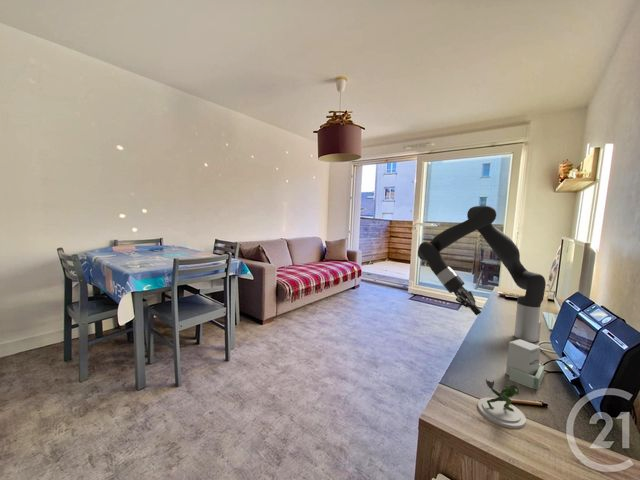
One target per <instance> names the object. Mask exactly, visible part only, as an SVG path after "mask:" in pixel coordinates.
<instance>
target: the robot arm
mask: <svg viewBox="0 0 640 480" xmlns="http://www.w3.org/2000/svg"><path fill="white" fill-rule="evenodd" d="M466 215H467V220H465V221H463V222H460V223H458V224H456V225H453V226H450V227H448V228H446V229H445V230H443V231H442V232H440V233H438V234H437V235H435V236H434V237H433V239H432V240H431V241H429V242H428V241H423V242H421V243H420V244H419V246H418V249H417V257H418V258H419V260H422V261H426V262H427V263H428V264H429V268H430V270H431V271H432V272H433V274H434V275H435V276H436V278H437V279H438V280H439V282H440V283H441V285H443V287H444V288H445V290H447V291H448V293H449V294H452V293H453V294H454V295H455V297H456V298H455V301H456V302H458V303H459V304H461V305H462V306H463V307H465V308H468V309H470V310H471V311H472V313H474V315H475V316H479V315H480V314H481V313H482V311H481V310H480V308H479V307H478V306H477V305H476V302H477V301H476V299H475V296H474V295H473V293H472V291H468V289H466V288H465V287H464V285H465V282H464V280H462V278H461V277H460V276H459V275H458V273H456V271H455V270H453V269H452V268H451V267H450V265H449V264H448V263H447V262H446V261H445V260H444V259H443V257H442V255H441V251H443V250H444V249H446V248H448V247H450V246H451V245H453V244H454V243H456V242H458V241H459V240H460V239H462V238H464V237H466V236H468V235H470V234H472V233H473V232H476V231H477V232H478V233H479V234H480V235H481V236H482V237H483V239H484V240H485V242H486V243H487V244H488V245H489V247H490V248H491V250H492V251H493V253H494V254H495V256H496V257H497V258H498V259H499V261H500V262H501V264H503V266H504V267H505V269H506V270H507V271H508V273H509V274H510V276H511V278H512V280H513V281H514V283H515V285H516V286H517V287H518V288H520V289H522V290H525V293H524V294H525V295H524V296H523V295H521V296H519V297H517V301H516V311H515V313H516V314H515V323H514V334H513V336H514V338H516V339H517V340H518V339H521V340H524V341H526V342H529V343H535V342H536V343H537V342H540V337H541V329H542V327H541V326H542V322H541V321H540V315H541V305H542V302H543V301H544V297H545V292H546V279H545V277H544V276H543V275H542V274H540V273H537V272H534V271H533V272H531V271H529V270H527V268H525V267H524V265H523V264H522V262H521V260H520V259H521V257H520V256H521V255H520V249H519V248H518V246H517V245H516V243H515V242H514V241H513V240H512V238H510V237H509V236H508V235H507V234H505V233H504V232H503V231H501V230H500V229H498V228H497V227H496V226H495V225H494V224H493V223H494V222H495V220H496V219H497V211H496V209H495V208H494V207H492V206H491V205H490V206H488V205H475V206H472V207H470V208H469V209H468V210H467V213H466Z"/></svg>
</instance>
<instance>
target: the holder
mask: <svg viewBox="0 0 640 480" xmlns="http://www.w3.org/2000/svg"><path fill="white" fill-rule="evenodd" d="M545 367H546V365H544V364H541V363H539V368H538V371H537V373H536V375H535V376H533V375H530V374H527V373H524V372H521V371H518V370H516V369H513V368H511V369H510V376H509V375H508V376H509V377H508V379H509V380H510V381H512V382H515V383H517V384H520V385H523V386H525V387H528V388H531V389H532V390H533V389H534V390H536V391H538V390H539V388H540V386H541V384H542V381H543V378H544V376H545V371H546V370H545Z"/></svg>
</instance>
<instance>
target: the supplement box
mask: <svg viewBox="0 0 640 480" xmlns="http://www.w3.org/2000/svg"><path fill="white" fill-rule="evenodd" d="M507 346H508V348H507V356H506V357H507V358H506V359H507V360H506V369H505V374H506V375H508V376H510V369H511V368H513V369H516V370H518V371H521V372H524V373H527V374H530V375H533V376H535V375H536V373H537V371H538V368H539V364H540V360H541V359H540V358H541V357H540V356H541V348H542V347H541V346H539V345H537V344H534V343H533V342H528V341H524V340H521V339H518V338H517V339H516V340H512V341H509V342H508V345H507Z"/></svg>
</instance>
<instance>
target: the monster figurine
mask: <svg viewBox="0 0 640 480" xmlns="http://www.w3.org/2000/svg"><path fill="white" fill-rule="evenodd" d="M485 382H486V385H487V387H488V388H489V389H490V390H491V391H492V392H493V394H495V395H496V396H497V397H482V398H480V399H479V400H478V402H477V409H478V411H479V412H480V413H481V415H483V416H484V417H485V418H486V419H487V420H489V421H491V422H493V423H494V424H497V425H499V426H502V427H506V428H510V429H520V428H524V427H525V425H526V422H527V418H526V415H525V414H524V413H523V412H522V410H520V409H519V408H518V407H516V406H515V405H513V401H512V400H511V398H512V397H513V396H516V395H519V394H520V389H521V387H520V388H519V387H518V386H517V384H513V383H512V384H510V385H507V384H504V387H502V388H501V387H500V389H502V390H500V389H498V391H499V392H498V391H497V390H496V389H495V388H494V386H495V381H494V379H493V380H492V381H490V380H488V379H487V378H485Z"/></svg>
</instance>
